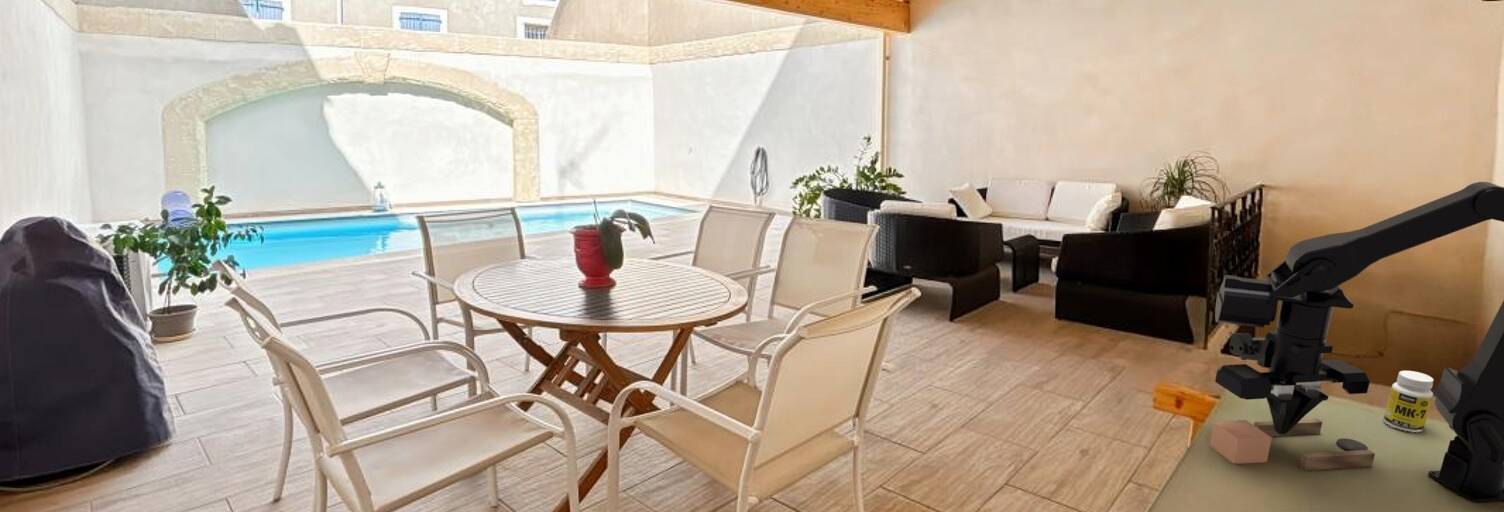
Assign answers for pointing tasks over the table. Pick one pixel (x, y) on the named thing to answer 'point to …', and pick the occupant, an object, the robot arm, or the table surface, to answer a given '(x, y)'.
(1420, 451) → the table surface
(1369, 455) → the channel
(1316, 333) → the robot arm
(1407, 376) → the supplement bottle
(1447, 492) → the table surface
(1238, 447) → the terracotta block
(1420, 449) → the table surface
